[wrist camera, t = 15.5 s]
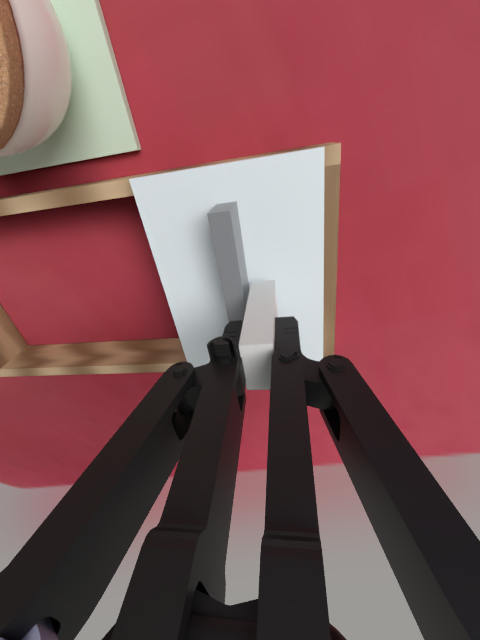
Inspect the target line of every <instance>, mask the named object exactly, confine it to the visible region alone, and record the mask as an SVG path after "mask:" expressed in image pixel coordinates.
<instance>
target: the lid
mask: <svg viewBox="0 0 480 640" xmlns="http://www.w3.org/2000/svg"><path fill="white" fill-rule="evenodd" d="M324 162H325V147H323V146H322V147H316V148H310V149H304V150H298V151H292V152H286V153H280V154H274V155H268V156H262V157H256V158H250V159H244V160H238V161H232V162H226V163H220V164H214V165H208V166H202V167H196V168H190V169H184V170H178V171H172V172H166V173H160V174H154V175H148V176H142V177H136V178H131V179H129V182H130V185H131V188H132V191H133V194H134V197H135V200H136V204H137V207H138V210H139V213H140V216H141V219H142V222H143V225H144V229H145V232H146V235H147V238H148V241H149V244H150V247H151V251H152V254H153V257H154V260H155V263H156V266H157V269H158V272H159V276H160V279H161V282H162V285H163V288H164V291H165V294H166V297H167V301H168V304H169V307H170V310H171V313H172V316H173V319H174V323H175V326H176V329H177V332H178V335H179V338H180V341H181V344H182V348H183V351H184V354H185V357H186V360H187V362H189V363H191V364H192V365H193V367H194V368H195V367H198V366H202V365H205V364H207V363H209V362H210V356H209V353H208V349H207V344H208V342H209V341H211V340H212V339H214V338H216V337H220V336H222V335H223V332H224V328H225V326H226V325H227V324H228V323H229V322H230V321H238V320H244V315H245V310H246V305H247V300H248V295H249V290H250V285H251V282H257V281H269V280H275V286H276V297H277V308H278V317H290V316H294V317H295V319H296V320H297V321H298V328H299V338H300V348H301V352H302V354H303V355H304V356H305V357H306V358H309V359H311V360H315V361H320V360H321V359H322V358H323V315H324Z"/></svg>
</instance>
